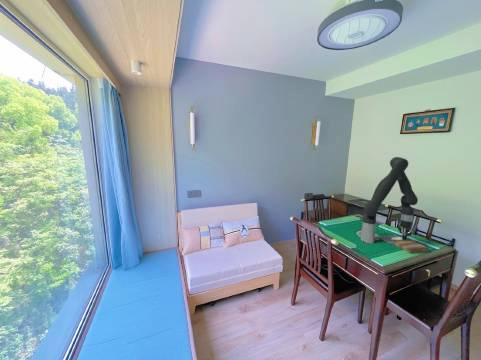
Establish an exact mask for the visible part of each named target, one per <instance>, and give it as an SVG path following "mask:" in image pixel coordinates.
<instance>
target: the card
mask: <svg viewBox="0 0 481 360" xmlns="http://www.w3.org/2000/svg"><path fill="white" fill-rule="evenodd" d="M391 240H403V239H402V236H400V237H391Z"/></svg>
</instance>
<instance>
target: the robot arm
mask: <svg viewBox="0 0 481 360" xmlns="http://www.w3.org/2000/svg"><path fill="white" fill-rule="evenodd" d="M389 165H390V168H391V170H390V172H389V173H388V174H387V175H386V176H385V177H384V178H382V179H381V180H380V181H379V183H378V184H377V185H376V188H375V189H374V192H373V194H372V198H371V199H370V201H369V202H368V203H365V205H364V206H363V214H362V215H363V216H362V225H361V226H362V227H361V229H360V240H361V241H362V242H363V241H364V242H363V243H365V242H366V244H374V243H375V235H376V224H377V213H378V211H379V208H380V206H381V205H382V203H383V201H384V200H385V199H386V198H387V197H388V195H389V194H390V192H391V191H392V189H393V187H394V186H395V185H396V183H398V186H399V190H400V192H401V194H403V195H402V196H401V197H400V204H401V208H402V209H401V215H400V221H399V225H398V226H397V229H398V232H399V233H400V234H401V237H402V239H403V240H407V239H408V237H410V236H412V235H414V233H415V231H413V230H412V227H413V223H414V212H415V209H414V207H412V206H415V205H417V204H418V201H419V200H418V197H417V196H418V195H416V194H415V191H413V187H412V185H411V181H410V180H409V178H408V176H407V174H406V172H405V171H406V169H407V168H408V166H409V161H408V160H407V159H406V158H404V157H402V156H401V157H400V156H395V157H393V158H391V159H390V160H389Z"/></svg>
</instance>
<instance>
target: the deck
mask: <svg viewBox="0 0 481 360" xmlns="http://www.w3.org/2000/svg"><path fill="white" fill-rule="evenodd" d="M394 246H396V247H397V248H399V249H401V250H403V251H405V252H407V253H408V254H424V253H428V252H429V247H428V246H425V245H423V244H422V243H419V242H417V241H415V240H413V239H411V238H410V239H408V238H407V240H395V243H394Z"/></svg>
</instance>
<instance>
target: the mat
mask: <svg viewBox="0 0 481 360" xmlns="http://www.w3.org/2000/svg"><path fill="white" fill-rule="evenodd" d="M376 237H377V238H379V239H380V240H382V241H384V242H385V243H387V244H389V245H393V244H394V243H395V240H391V237H401V236H400V235H398V234H395V235H394V234H391V235H390V234H388V235H376Z"/></svg>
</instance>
